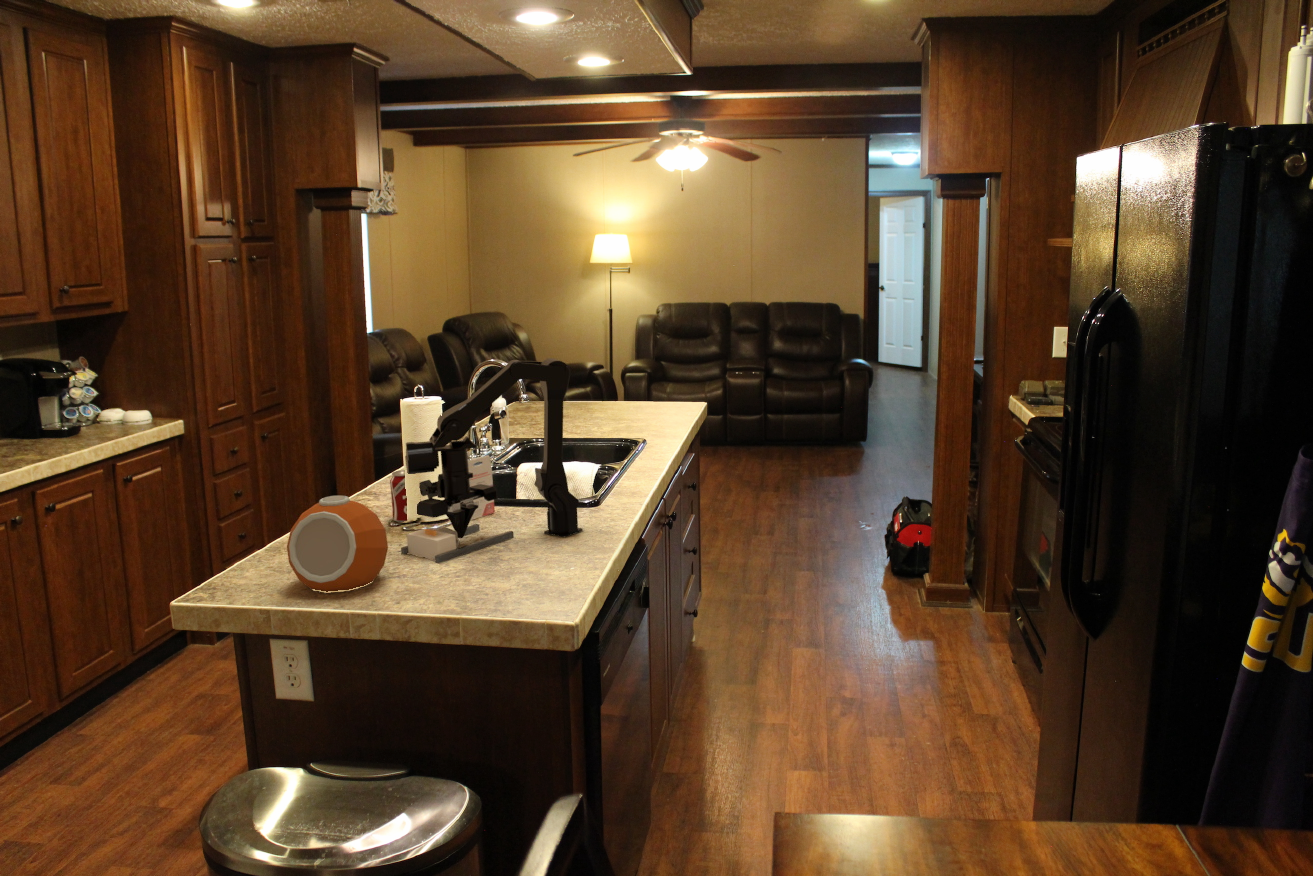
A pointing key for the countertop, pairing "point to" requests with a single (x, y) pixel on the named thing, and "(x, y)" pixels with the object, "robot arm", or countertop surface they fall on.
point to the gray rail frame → (469, 547)
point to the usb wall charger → (449, 531)
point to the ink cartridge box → (481, 476)
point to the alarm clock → (337, 545)
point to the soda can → (398, 496)
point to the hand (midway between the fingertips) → (460, 538)
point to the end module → (430, 543)
